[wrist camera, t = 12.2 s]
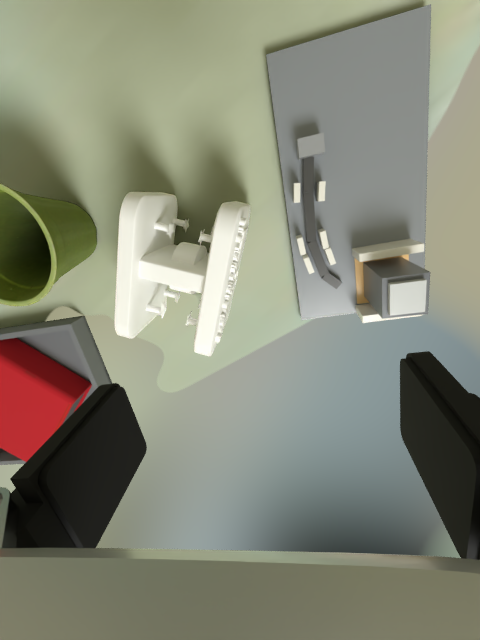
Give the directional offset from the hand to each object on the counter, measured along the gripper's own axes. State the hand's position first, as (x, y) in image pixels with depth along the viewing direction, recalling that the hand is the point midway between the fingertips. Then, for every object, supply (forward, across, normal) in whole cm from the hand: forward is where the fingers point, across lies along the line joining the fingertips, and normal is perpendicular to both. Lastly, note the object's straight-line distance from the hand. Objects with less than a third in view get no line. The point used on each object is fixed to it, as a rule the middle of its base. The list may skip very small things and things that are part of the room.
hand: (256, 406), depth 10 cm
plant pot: (+28, +25, -7) cm, 39 cm away
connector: (+27, -12, +4) cm, 30 cm away
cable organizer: (+29, +9, -1) cm, 30 cm away
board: (+28, -9, -5) cm, 30 cm away
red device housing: (+28, +42, +16) cm, 53 cm away
